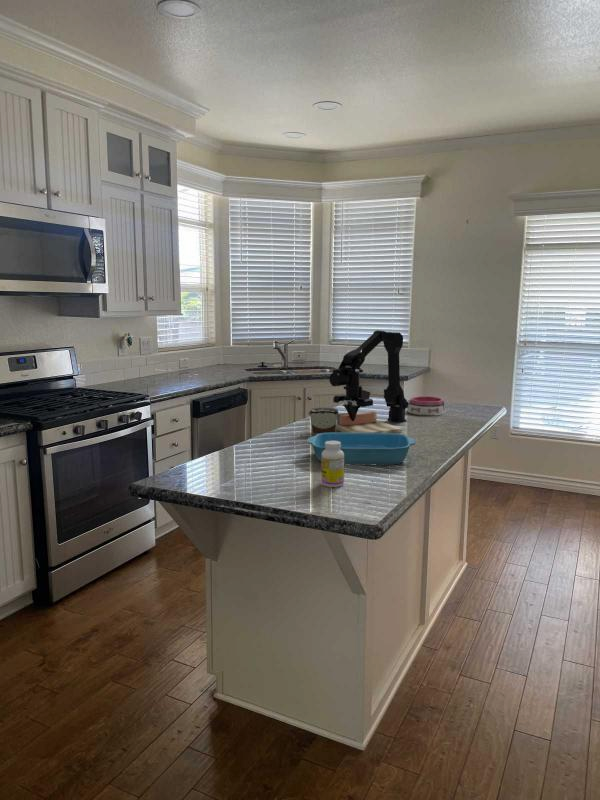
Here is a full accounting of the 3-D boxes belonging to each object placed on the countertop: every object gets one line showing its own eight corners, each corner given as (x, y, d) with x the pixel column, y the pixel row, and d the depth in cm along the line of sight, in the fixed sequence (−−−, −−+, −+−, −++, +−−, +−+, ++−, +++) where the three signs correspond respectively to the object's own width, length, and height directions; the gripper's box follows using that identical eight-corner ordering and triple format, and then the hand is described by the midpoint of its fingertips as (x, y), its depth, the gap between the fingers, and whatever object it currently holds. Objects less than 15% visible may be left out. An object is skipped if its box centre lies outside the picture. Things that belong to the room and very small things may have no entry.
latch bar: (374, 420, 257) (374, 411, 257) (377, 421, 255) (377, 412, 254) (339, 424, 250) (339, 414, 249) (342, 425, 248) (342, 415, 247)
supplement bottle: (320, 481, 178) (320, 439, 176) (341, 481, 178) (342, 439, 176) (322, 488, 171) (322, 445, 169) (345, 487, 172) (345, 444, 170)
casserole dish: (304, 466, 195) (304, 445, 194) (310, 449, 217) (310, 430, 215) (417, 469, 191) (418, 448, 190) (412, 452, 213) (412, 432, 212)
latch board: (376, 423, 261) (376, 409, 260) (402, 432, 243) (402, 417, 242) (332, 427, 252) (332, 414, 251) (356, 437, 234) (356, 422, 233)
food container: (339, 431, 246) (339, 407, 244) (338, 434, 240) (339, 410, 238) (309, 430, 247) (309, 407, 246) (308, 433, 241) (308, 409, 240)
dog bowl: (445, 417, 275) (445, 402, 274) (404, 415, 280) (405, 400, 279) (446, 410, 293) (447, 396, 291) (409, 408, 298) (409, 394, 297)
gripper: (382, 383, 243) (382, 421, 246) (351, 380, 258) (352, 415, 260) (362, 386, 237) (363, 425, 239) (332, 382, 251) (332, 419, 254)
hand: (353, 420), depth 248 cm, fingers closed
